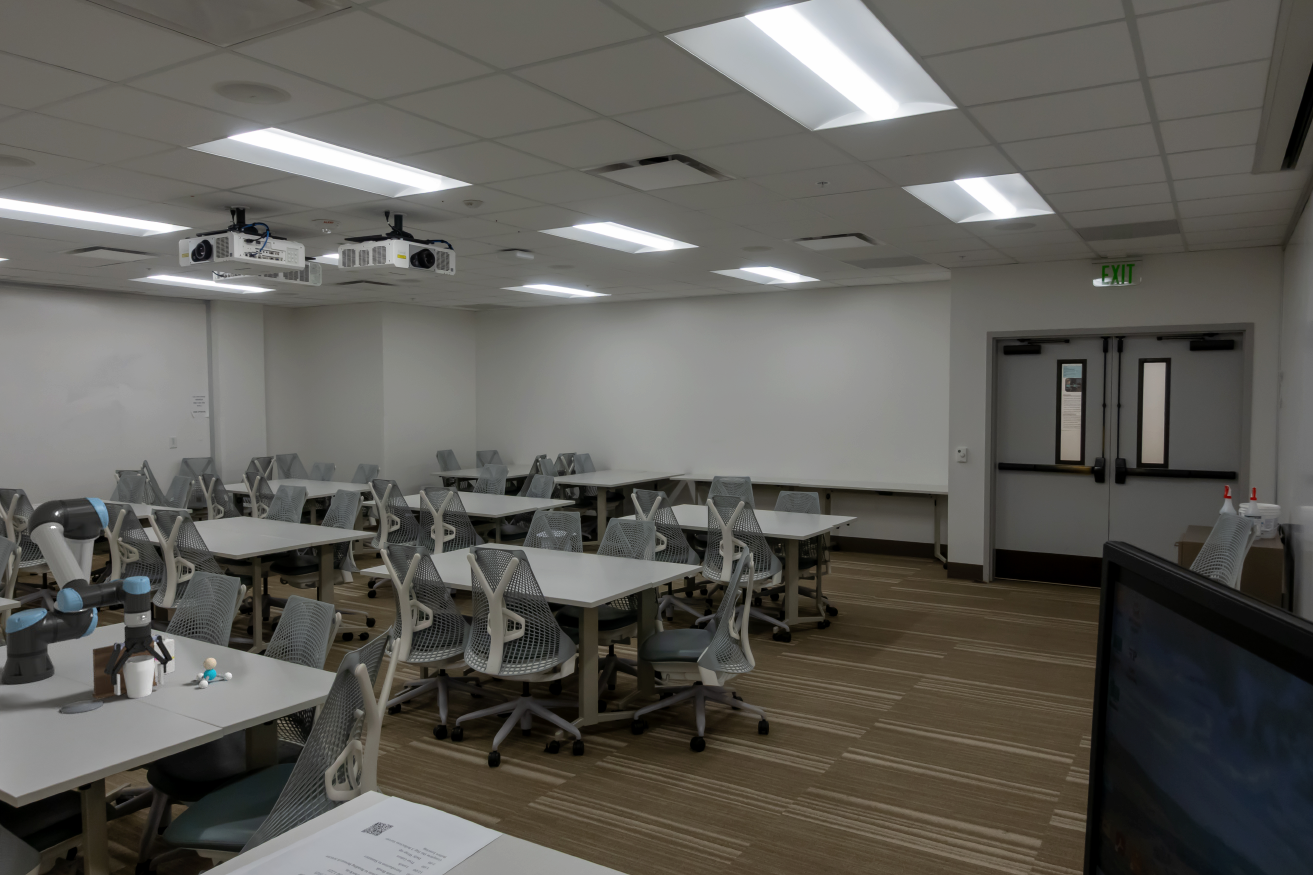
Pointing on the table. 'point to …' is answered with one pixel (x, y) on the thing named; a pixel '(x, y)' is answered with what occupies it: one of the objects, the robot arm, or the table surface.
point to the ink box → (171, 664)
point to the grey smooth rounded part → (81, 706)
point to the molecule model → (210, 673)
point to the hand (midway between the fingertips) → (139, 688)
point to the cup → (139, 675)
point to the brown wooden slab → (103, 680)
